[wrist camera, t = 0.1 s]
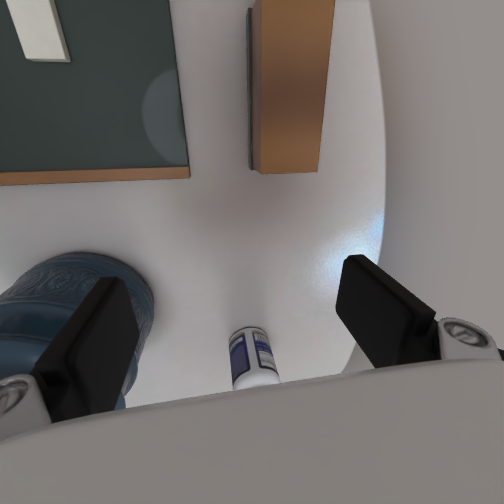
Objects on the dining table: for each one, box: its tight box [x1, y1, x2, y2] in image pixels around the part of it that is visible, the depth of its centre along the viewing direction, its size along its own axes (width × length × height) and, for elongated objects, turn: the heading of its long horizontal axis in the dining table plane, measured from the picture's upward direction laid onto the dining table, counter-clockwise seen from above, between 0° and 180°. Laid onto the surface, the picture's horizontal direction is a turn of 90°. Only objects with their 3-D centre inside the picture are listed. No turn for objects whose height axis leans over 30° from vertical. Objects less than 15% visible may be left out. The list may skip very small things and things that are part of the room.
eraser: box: [246, 0, 335, 174], centre depth 18 cm, size 11×5×5 cm, turn 1°
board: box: [0, 0, 190, 186], centre depth 17 cm, size 16×22×1 cm
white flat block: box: [6, 0, 71, 62], centre depth 16 cm, size 4×2×1 cm
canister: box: [0, 253, 154, 411], centre depth 19 cm, size 13×13×18 cm
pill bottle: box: [229, 328, 280, 391], centre depth 28 cm, size 5×5×10 cm
